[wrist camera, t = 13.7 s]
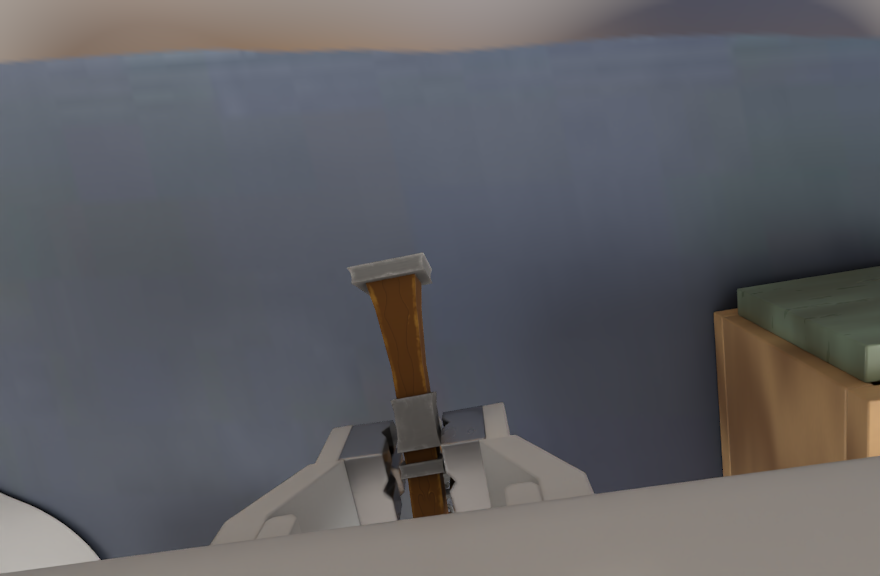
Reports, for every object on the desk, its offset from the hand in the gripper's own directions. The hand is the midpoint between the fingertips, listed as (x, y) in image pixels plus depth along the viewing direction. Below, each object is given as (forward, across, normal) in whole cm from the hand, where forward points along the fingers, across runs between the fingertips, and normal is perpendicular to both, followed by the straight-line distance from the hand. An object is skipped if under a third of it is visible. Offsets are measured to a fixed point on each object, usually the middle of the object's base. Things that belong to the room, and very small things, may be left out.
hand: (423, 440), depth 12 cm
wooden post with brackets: (+2, 0, -1) cm, 2 cm away
